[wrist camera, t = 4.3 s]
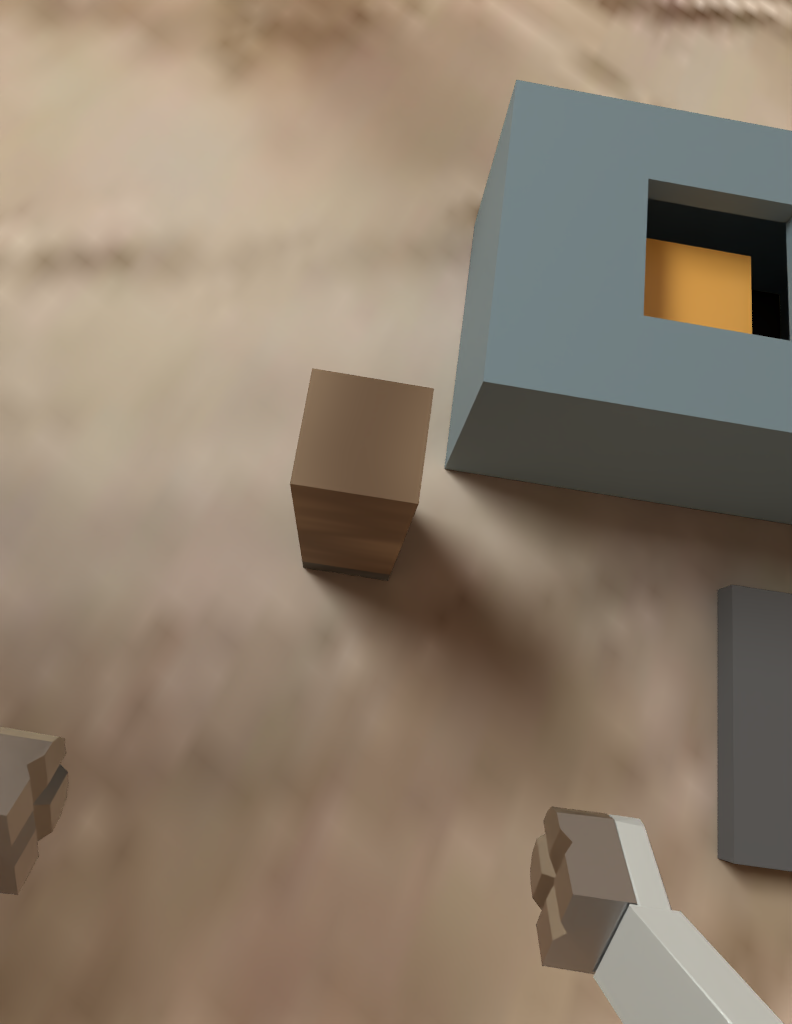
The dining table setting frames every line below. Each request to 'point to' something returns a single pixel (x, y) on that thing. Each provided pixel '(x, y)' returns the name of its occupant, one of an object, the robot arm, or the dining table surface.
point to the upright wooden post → (358, 471)
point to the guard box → (625, 308)
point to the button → (698, 286)
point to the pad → (755, 727)
